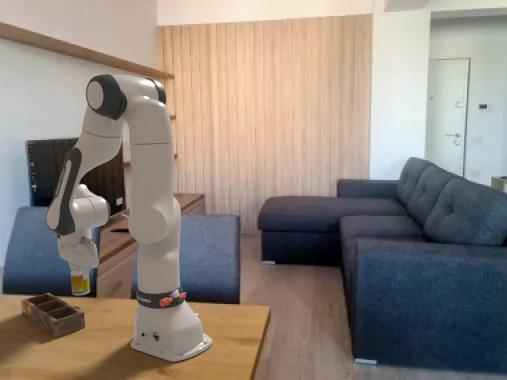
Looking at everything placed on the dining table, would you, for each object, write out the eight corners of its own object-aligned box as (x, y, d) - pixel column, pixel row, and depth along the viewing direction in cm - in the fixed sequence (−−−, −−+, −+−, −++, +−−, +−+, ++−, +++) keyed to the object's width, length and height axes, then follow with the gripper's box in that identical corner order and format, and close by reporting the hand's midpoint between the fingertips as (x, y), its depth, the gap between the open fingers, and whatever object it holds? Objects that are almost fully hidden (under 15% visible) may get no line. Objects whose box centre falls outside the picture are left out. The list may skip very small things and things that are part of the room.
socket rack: (85, 327, 132) (84, 311, 132) (55, 337, 126) (53, 321, 125) (49, 305, 148) (48, 291, 148) (21, 314, 142) (20, 299, 141)
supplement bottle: (86, 295, 146) (84, 266, 144) (69, 295, 146) (67, 266, 144) (92, 289, 151) (90, 261, 150) (76, 289, 151) (74, 261, 150)
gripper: (102, 237, 141) (105, 281, 143) (71, 228, 155) (74, 268, 157) (83, 241, 136) (86, 286, 138) (52, 231, 150) (56, 272, 152)
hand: (79, 276), depth 148 cm, fingers closed on supplement bottle, 5 cm apart
